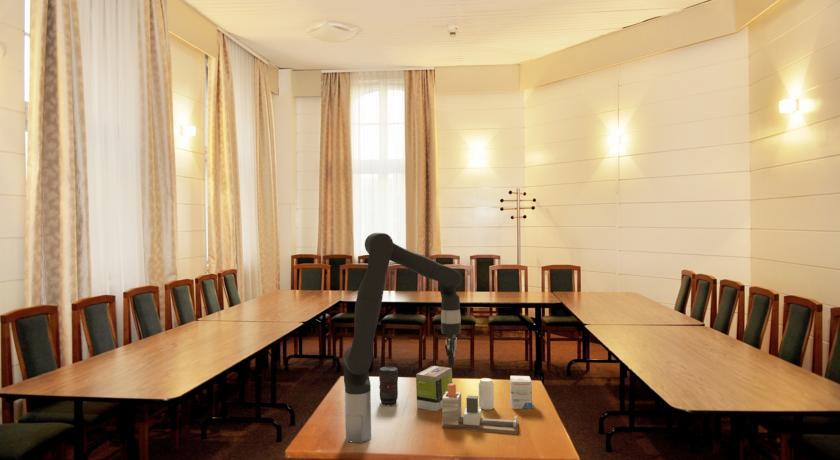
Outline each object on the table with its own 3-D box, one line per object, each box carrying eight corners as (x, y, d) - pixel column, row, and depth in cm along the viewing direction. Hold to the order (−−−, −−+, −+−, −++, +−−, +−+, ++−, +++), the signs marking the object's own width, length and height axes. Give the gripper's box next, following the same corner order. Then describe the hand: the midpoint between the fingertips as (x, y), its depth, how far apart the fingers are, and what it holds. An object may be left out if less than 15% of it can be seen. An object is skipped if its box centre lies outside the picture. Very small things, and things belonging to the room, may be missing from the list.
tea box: (433, 397, 232) (433, 364, 232) (453, 401, 227) (453, 367, 227) (415, 408, 219) (415, 373, 219) (436, 412, 214) (436, 376, 214)
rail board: (517, 434, 191) (516, 403, 191) (442, 428, 197) (441, 398, 197) (518, 424, 200) (518, 394, 200) (447, 418, 207) (446, 390, 207)
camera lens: (397, 406, 222) (397, 371, 222) (378, 406, 222) (378, 371, 222) (398, 399, 230) (398, 366, 230) (380, 400, 230) (380, 366, 230)
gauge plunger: (455, 412, 199) (455, 386, 199) (447, 411, 200) (446, 385, 200) (456, 409, 202) (456, 383, 202) (448, 408, 203) (448, 383, 203)
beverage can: (493, 411, 215) (493, 382, 214) (478, 410, 216) (477, 381, 216) (494, 406, 221) (494, 377, 220) (479, 405, 222) (479, 377, 222)
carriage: (479, 425, 195) (478, 400, 195) (463, 424, 197) (463, 399, 197) (481, 418, 202) (481, 394, 202) (466, 417, 204) (465, 393, 203)
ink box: (530, 402, 225) (530, 375, 224) (532, 409, 216) (532, 381, 216) (510, 402, 225) (509, 375, 225) (511, 408, 217) (511, 380, 217)
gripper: (457, 324, 194) (458, 371, 194) (463, 318, 207) (463, 361, 207) (437, 323, 195) (438, 370, 196) (444, 317, 208) (445, 361, 208)
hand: (451, 365), depth 201 cm, fingers closed
